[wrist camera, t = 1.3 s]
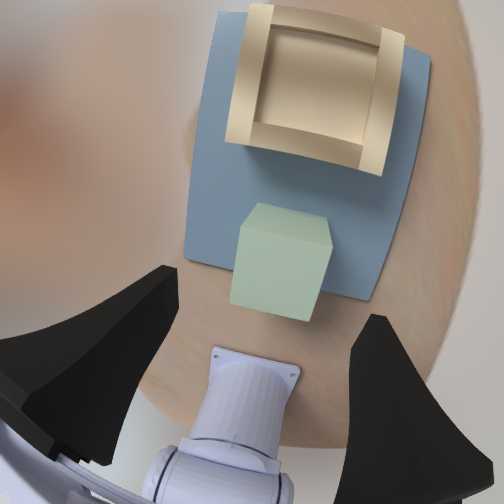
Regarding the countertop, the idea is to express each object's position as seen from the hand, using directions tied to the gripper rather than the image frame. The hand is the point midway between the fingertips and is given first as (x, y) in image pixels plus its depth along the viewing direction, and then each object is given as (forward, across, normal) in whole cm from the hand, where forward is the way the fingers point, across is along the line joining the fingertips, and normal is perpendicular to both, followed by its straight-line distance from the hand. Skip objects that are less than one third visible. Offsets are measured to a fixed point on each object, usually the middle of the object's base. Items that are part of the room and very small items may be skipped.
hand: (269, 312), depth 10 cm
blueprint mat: (+10, 0, -4) cm, 11 cm away
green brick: (+9, 0, +2) cm, 9 cm away
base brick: (+11, 0, -8) cm, 13 cm away
